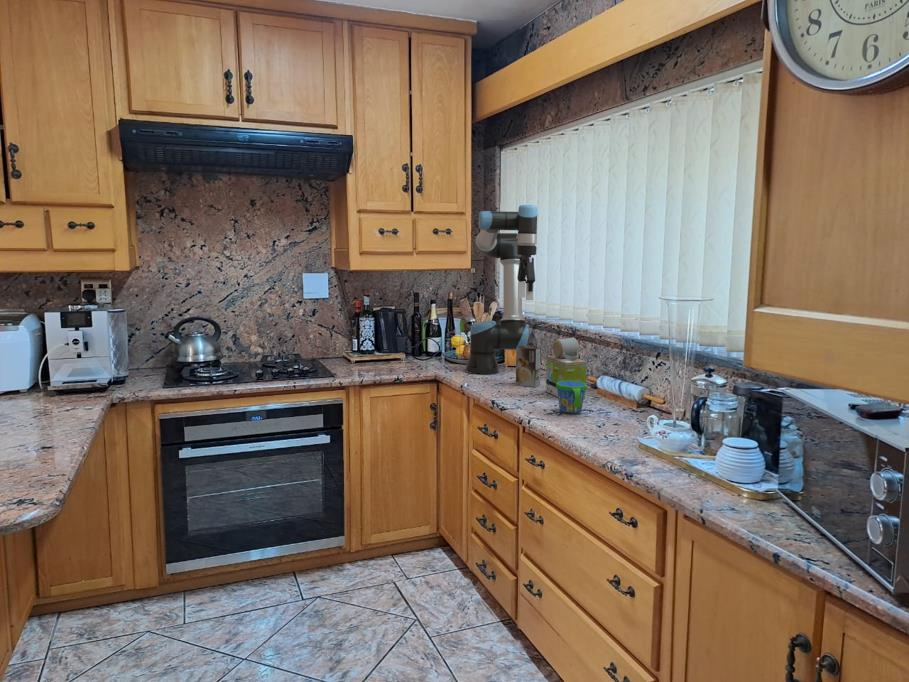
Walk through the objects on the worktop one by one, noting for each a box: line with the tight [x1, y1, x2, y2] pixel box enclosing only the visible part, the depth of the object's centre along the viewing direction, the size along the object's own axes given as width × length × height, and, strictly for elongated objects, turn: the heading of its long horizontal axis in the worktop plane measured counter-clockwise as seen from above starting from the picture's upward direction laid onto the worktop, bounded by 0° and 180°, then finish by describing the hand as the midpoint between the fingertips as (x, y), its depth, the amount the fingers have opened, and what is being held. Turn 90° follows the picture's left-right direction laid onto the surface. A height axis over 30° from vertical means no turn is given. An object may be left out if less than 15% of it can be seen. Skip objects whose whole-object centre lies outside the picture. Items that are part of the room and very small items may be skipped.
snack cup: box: [556, 381, 588, 415], centre depth 232 cm, size 16×10×10 cm
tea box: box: [545, 355, 588, 399], centre depth 259 cm, size 15×10×15 cm, turn 19°
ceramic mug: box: [552, 337, 580, 360], centre depth 257 cm, size 11×8×8 cm
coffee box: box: [515, 345, 542, 388], centre depth 278 cm, size 9×6×16 cm
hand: (525, 298), depth 265 cm, fingers open, 13 cm apart
